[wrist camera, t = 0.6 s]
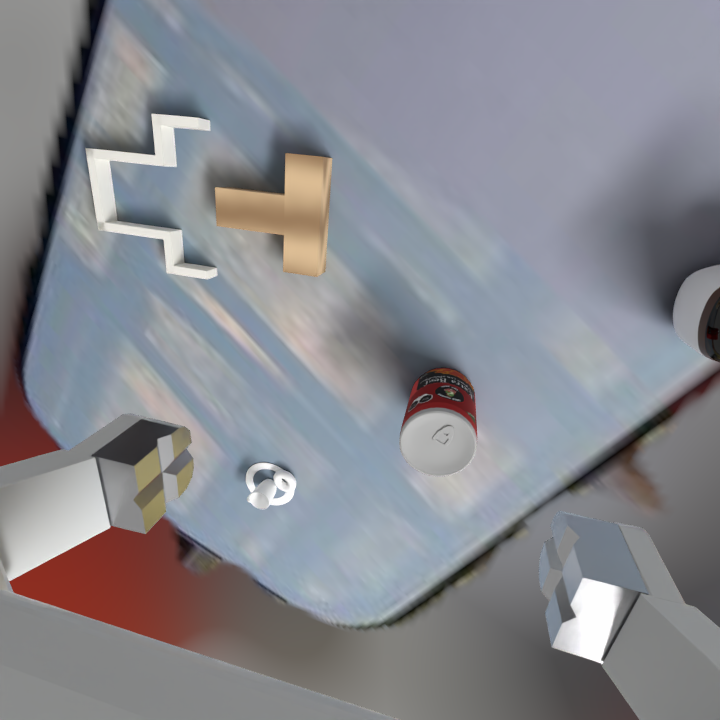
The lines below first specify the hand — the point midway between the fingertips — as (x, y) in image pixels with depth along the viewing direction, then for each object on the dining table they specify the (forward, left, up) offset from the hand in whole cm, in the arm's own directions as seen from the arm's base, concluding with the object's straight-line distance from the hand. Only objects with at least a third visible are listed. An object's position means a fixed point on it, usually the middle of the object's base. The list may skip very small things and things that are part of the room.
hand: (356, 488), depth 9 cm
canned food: (+18, +3, -40) cm, 44 cm away
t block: (-1, -19, -40) cm, 44 cm away
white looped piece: (+40, -17, -40) cm, 59 cm away
